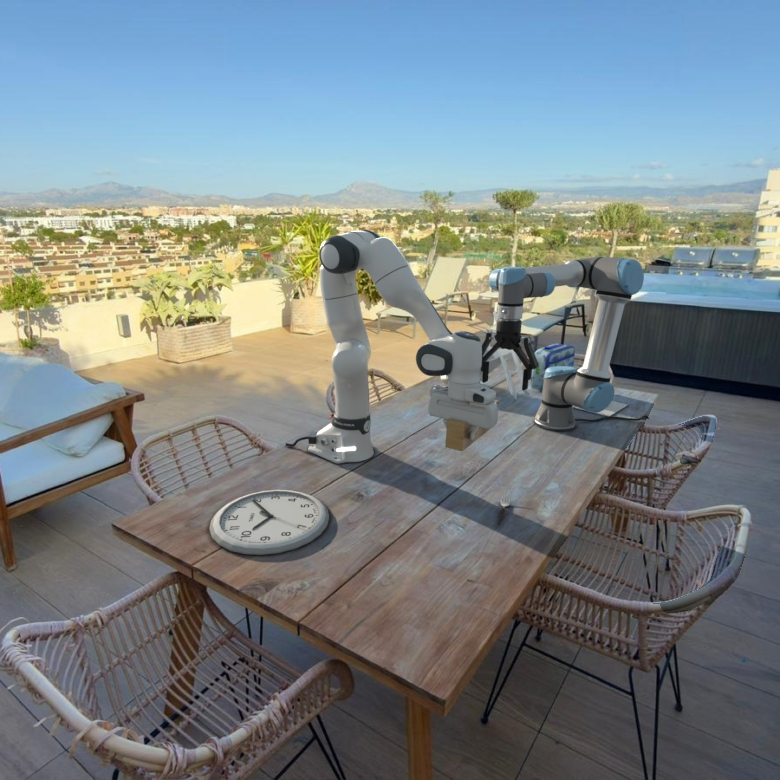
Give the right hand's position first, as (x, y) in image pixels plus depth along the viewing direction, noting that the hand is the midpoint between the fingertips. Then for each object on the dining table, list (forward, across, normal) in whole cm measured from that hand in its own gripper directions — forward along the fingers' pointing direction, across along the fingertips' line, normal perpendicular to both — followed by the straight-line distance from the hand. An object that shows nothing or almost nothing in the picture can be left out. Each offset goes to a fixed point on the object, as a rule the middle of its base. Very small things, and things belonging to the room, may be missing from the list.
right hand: (504, 385), depth 166 cm
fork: (+25, +16, -32) cm, 43 cm away
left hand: (+9, -1, -26) cm, 27 cm away
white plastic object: (+26, -39, +61) cm, 77 cm away
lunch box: (+27, -16, +90) cm, 95 cm away
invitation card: (+27, +12, +77) cm, 82 cm away
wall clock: (+24, -30, -72) cm, 82 cm away
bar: (+12, -2, -17) cm, 21 cm away
